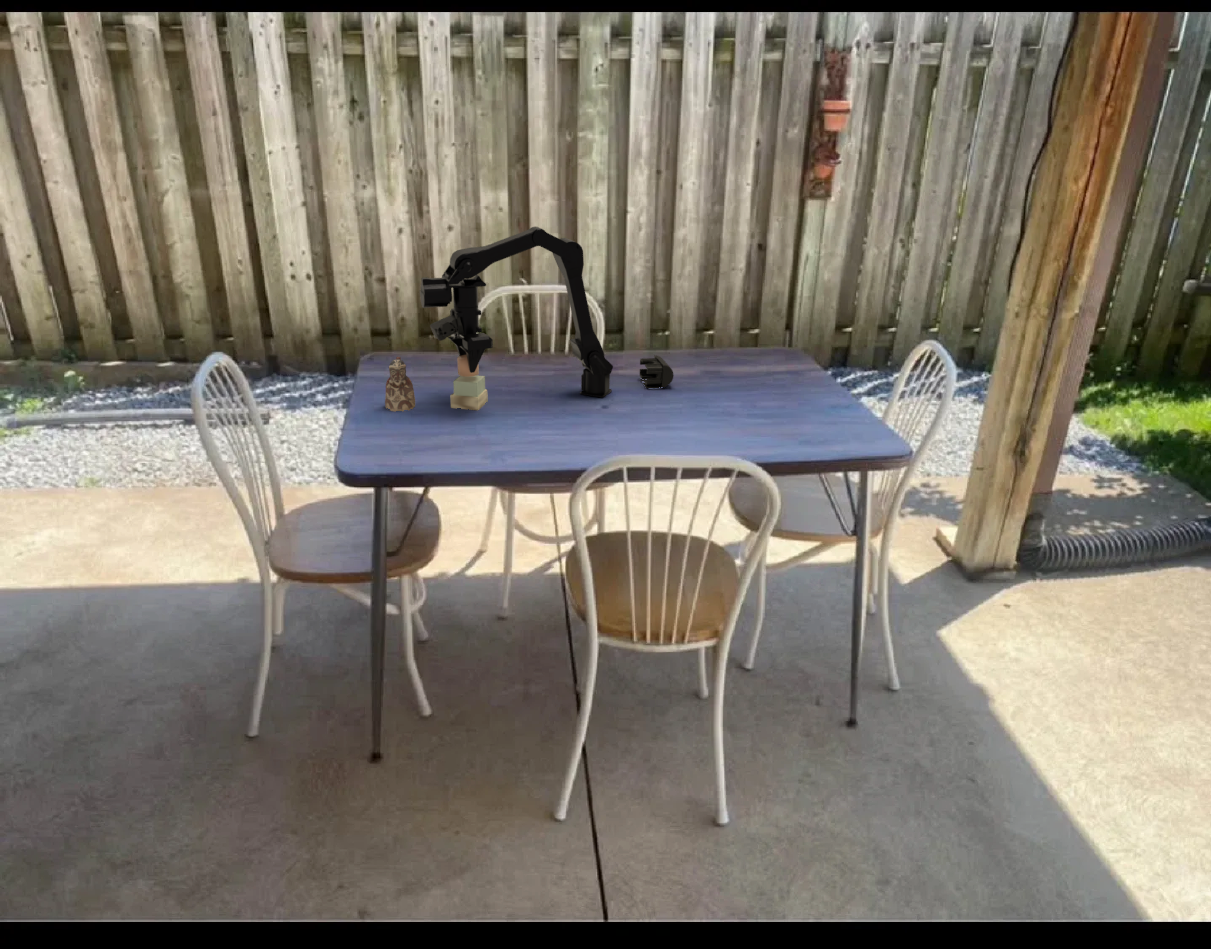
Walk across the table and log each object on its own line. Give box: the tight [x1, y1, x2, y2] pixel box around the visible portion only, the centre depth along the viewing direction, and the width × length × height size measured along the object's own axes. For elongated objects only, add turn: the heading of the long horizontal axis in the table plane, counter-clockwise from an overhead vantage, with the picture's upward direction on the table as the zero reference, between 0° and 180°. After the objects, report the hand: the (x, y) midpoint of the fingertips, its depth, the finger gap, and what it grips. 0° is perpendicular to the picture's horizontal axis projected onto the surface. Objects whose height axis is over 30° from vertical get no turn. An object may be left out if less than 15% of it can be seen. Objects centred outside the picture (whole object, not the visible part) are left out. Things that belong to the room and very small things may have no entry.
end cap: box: [639, 354, 674, 389], centre depth 234 cm, size 10×7×7 cm
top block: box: [452, 375, 486, 397], centre depth 214 cm, size 6×6×4 cm
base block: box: [450, 388, 489, 411], centre depth 215 cm, size 7×7×4 cm
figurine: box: [384, 356, 416, 412], centre depth 210 cm, size 7×7×12 cm
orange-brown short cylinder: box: [456, 355, 480, 377], centre depth 211 cm, size 5×5×4 cm
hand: (468, 369), depth 212 cm, fingers closed on orange-brown short cylinder, 5 cm apart
